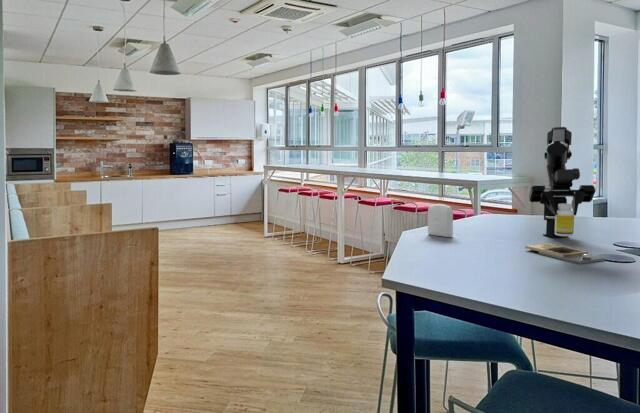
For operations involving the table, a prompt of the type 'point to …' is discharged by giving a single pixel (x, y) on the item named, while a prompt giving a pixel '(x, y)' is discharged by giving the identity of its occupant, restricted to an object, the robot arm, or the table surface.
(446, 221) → the photo printer
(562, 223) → the supplement bottle
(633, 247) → the table surface
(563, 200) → the robot arm
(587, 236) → the table surface
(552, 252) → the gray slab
